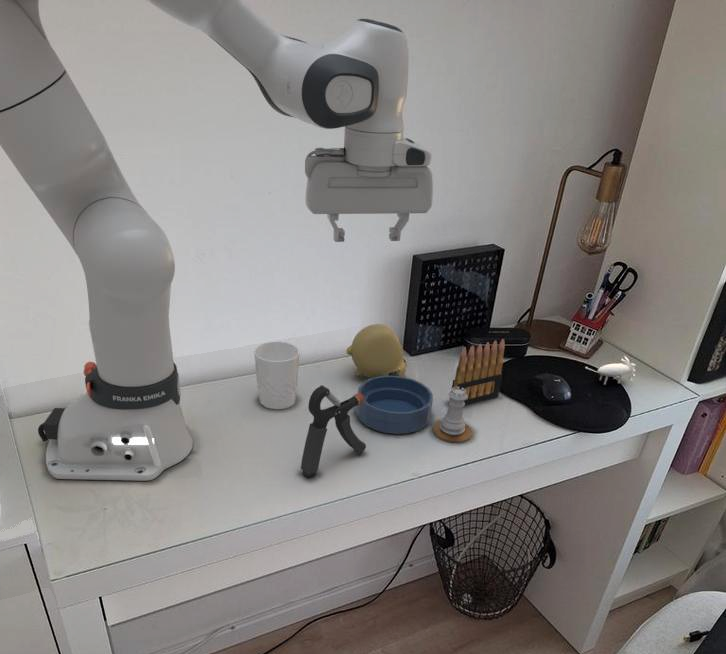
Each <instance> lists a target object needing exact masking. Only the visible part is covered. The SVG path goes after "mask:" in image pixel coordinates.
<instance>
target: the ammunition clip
mask: <svg viewBox="0 0 726 654" xmlns="http://www.w3.org/2000/svg"><path fill="white" fill-rule="evenodd" d="M505 344H506V343H505V339H504V338H502V339H501V340H500V342H499V345H498V342H497V340H496V339H495V340H494V341H493V343H492V345H491V346H490V342H489V341H487V342H486V344H485V346H484V348H483V345H482V343H479V344H478V346H477V348H476V350H475V345H471V346H470V348H469V349H468V353H467V347H466V346H464V347H463V348H462V349H461V352H460V355H459V360H458V363H457V366H456V371H455V376H454V379H453V380H452V385H451V389H450V391H451V390H452V388H453V387H455V389H456V388H457V387H459V389H460V390H461V388H464V390H466V394H467V396H468V397H467V399H465V400H464V403H465V405H464V406H463V407H466V406H469V405H473V404H474V405H475V404H477V403H480V402H481V403H482V402H485V401H489V400H493V399H496V398H499V395H500V390H501V383H502V378H503V373H502V369H503V364H504V353H505ZM450 399H451V398H450V397H449V400H450ZM449 400H448V401H449Z"/></svg>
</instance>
